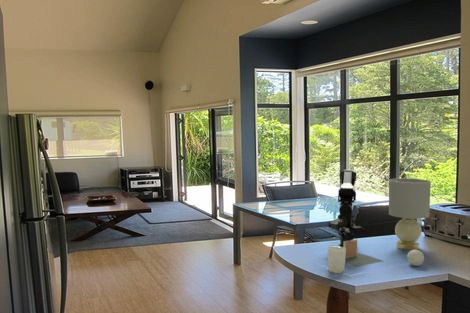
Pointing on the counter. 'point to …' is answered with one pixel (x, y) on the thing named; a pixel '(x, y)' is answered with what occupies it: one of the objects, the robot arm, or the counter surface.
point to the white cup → (336, 259)
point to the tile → (350, 248)
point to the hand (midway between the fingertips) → (345, 244)
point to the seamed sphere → (415, 257)
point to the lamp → (409, 209)
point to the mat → (361, 260)
